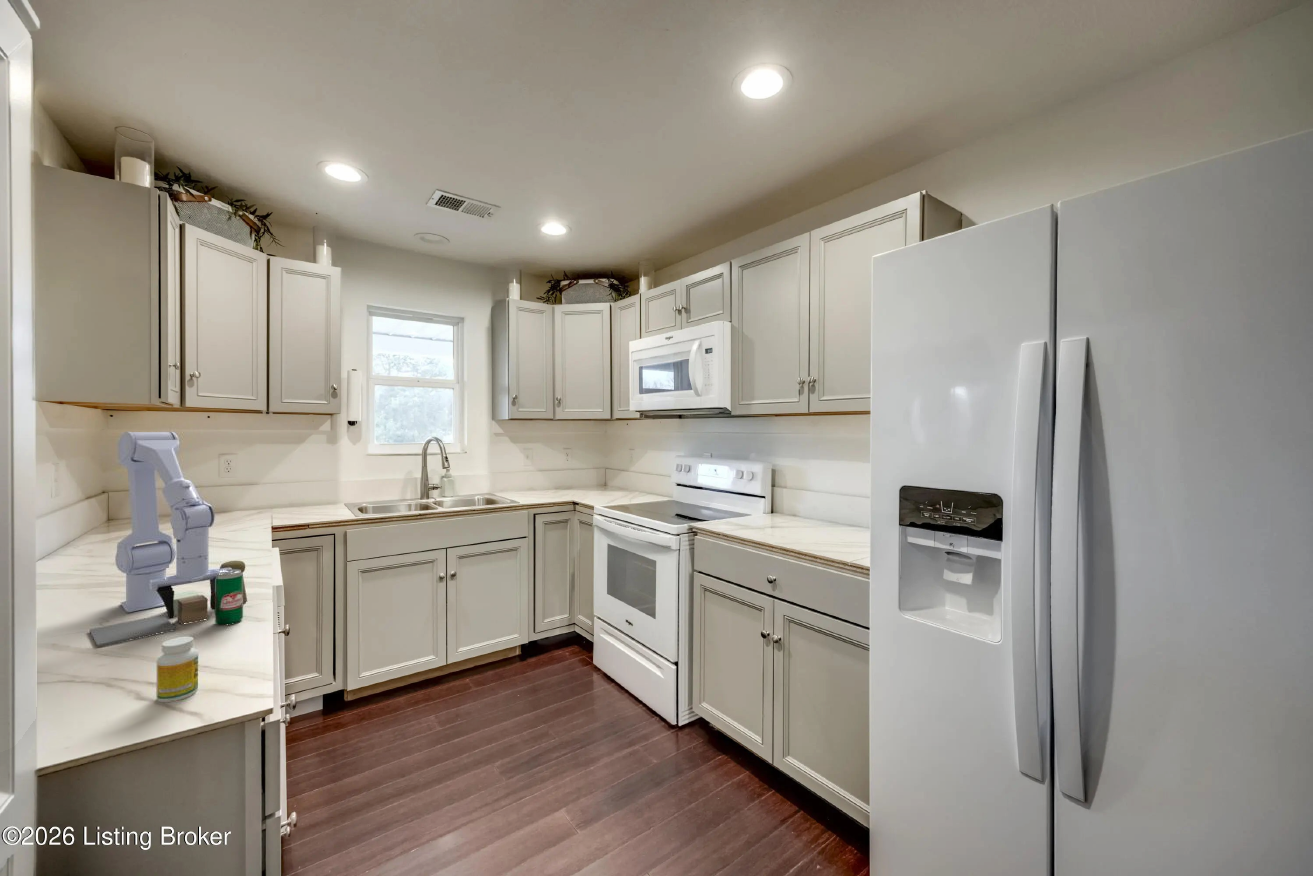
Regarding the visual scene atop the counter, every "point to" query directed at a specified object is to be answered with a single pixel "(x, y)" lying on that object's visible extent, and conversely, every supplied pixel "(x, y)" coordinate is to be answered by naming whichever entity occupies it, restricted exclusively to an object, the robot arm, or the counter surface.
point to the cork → (240, 566)
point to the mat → (130, 630)
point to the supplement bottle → (177, 670)
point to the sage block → (181, 596)
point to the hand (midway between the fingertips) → (192, 612)
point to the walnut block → (192, 609)
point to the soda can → (228, 597)
